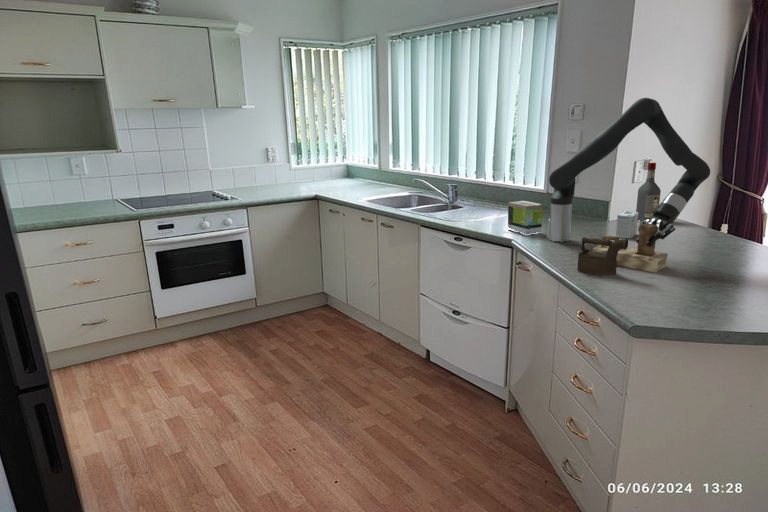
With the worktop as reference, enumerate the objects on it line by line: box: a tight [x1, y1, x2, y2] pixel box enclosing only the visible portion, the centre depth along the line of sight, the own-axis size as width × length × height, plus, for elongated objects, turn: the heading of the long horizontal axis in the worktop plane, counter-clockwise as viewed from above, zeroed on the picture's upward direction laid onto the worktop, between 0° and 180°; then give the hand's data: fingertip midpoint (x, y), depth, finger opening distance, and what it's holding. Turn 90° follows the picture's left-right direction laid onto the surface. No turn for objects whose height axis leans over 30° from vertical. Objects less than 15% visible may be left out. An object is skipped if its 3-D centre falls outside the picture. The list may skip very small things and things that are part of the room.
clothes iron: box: [577, 237, 629, 275], centre depth 182 cm, size 8×16×13 cm, turn 48°
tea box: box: [507, 200, 544, 234], centre depth 246 cm, size 15×10×15 cm
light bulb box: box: [615, 210, 639, 240], centre depth 231 cm, size 11×7×11 cm, turn 141°
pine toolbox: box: [591, 234, 668, 274], centre depth 191 cm, size 24×10×10 cm, turn 43°
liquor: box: [635, 162, 661, 221], centre depth 255 cm, size 9×9×30 cm
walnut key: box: [637, 224, 657, 257], centre depth 186 cm, size 4×4×16 cm
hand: (642, 243), depth 185 cm, fingers closed on walnut key, 4 cm apart
